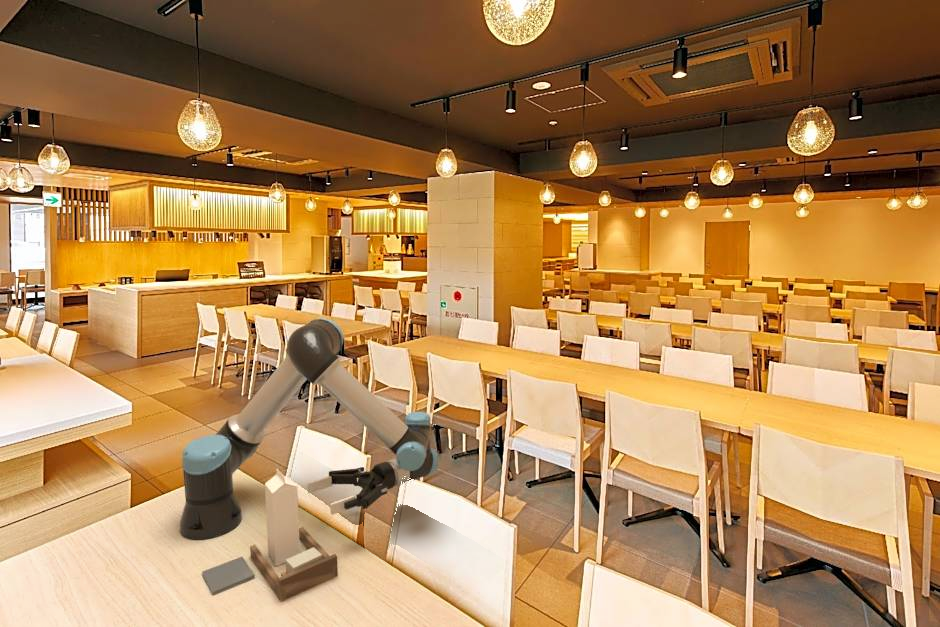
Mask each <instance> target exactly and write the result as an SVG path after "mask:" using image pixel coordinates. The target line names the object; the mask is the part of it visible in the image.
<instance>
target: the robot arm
mask: <svg viewBox="0 0 940 627" xmlns="http://www.w3.org/2000/svg"><path fill="white" fill-rule="evenodd" d="M343 344H344V333H343V330H342V329H341V326H339V325H338V324H337V323H336V322H335V321H333V320H331V319H329V318H325V317H324V318H323V317H321V318H314V319H313V320H310V321H308V323H307V324H305V325H302V326H300V327H299V328H298V327H297V329H296V330H293V331H292V333H291V334H290V336H289V338H288V341H287V344H286V345H287V346H286V348H285V354H286V356H285V358H284V359H283V361H282V362H280V364H279V366H277V368H276V369H275V370H274V371H273V373H272V374H271V375H270V376H269V378H268V379H267V380H266V381H265V382H264V384H263V385H261V387H260V388H259V390H257V392H256V393H255V395H254V396H253V397H252V398H251V400H250V401H249V402H248V403H247V404H246V406H245V407H244V408H243V409H242V410H241V412H240V413H238V414H233V415H231V416H230V417H229V418H228V419H227V421H226V422H225V423H224V424H223V426H222V427H221V428H220V429H219V430H218V431H217V432H216V433H215V434H209V435H204V436H201V438H196V439H194V440H192V441H191V442H189V443H188V444H187V445H186V446H185V447H184V449H183V452H182V459H181V466H182V473H183V474H182V475H183V483H184V495H185V496H184V497H185V504H184V508H183V511H182V514H181V517H180V521H179V522H180V523H179V529H180V534H181V535H182V536H183V537H184V538H187V539H189V540H190V539H191V540H207V539H211V538H216V537H219V536H222V535H225V534H227V533H229V532H231V531H233V530H234V529H235V528H237V527H238V526H239V525H240V523H241V521H242V520H243V519H242V518H243V515H242V508H241V505H240V503H239V501H238V500H237V498H236V496H235V493H234V482H233V474H234V473H235V472H236V471H237V470H238V469H239V468H240V467H241V466H243V464H244V463H245V462H246V461H247V460H248V459H250V458H251V457H252V456H253V455H254V454H255V453H256V451H257V449H258V448H259V445H261V443H262V442H263V441H264V439H265V430H266V429H267V428H268V427H269V426H270V425H271V423H272V422H273V421H274V420H275V418H276V417H277V416H278V415H279V414H280V412H281V411H282V410H283V408H284V407H285V406H286V405H287V404H288V403H289V401H291V399H292V398H293V396H295V395H296V393H297V392H298V391H299V389H300V388H301V387H302V386H303V384H305V382H306V381H309V382H310V383H311V384H312V385H314V386H318V385H319V386H321V388H322V389H324V390H325V391H326V392H327V393H328V394H329V395H330V396H331V397H332V398H333V399H334V400H336V402H338V404H340V405H341V406H342V407H343V408H344V409H345V410H347V412H349V414H351V415H352V416H353V417H354V418H355V419H356V420H357V421H358V422H359V423H361V424H362V425H363V426H364V427H365V428H366V429H367V430H369V431H370V433H372V434H373V435H374V436H375V437H376V439H378V441H380V442H382V444H383V445H384V446H386V447H387V448H388V450H390V451H391V452H392V453H393V454H394V455H395V458H392V459H389V460H387V461H384V462H380V463H377V464H375V465H374V466H373V467H372V469H371V470H369V471H365V467H363V466H362V467H357V468H349V469H340V470H339V469H337V470H329V471H328V476H326V477H323V478H320V479H316V480H313V481H309V482H307V494H308V495H309V494H312V493H315V492H318V491H322V490H324V489H327V488H331V487H333V485H353V486H354V487H360V488H361V490H360V492H359V493H357V494H356V493H355V494H356V495H355V494H353V495H350V496H348V497H345V498H343V499H339V500H336V501H334V502H331V503H330V506H329V508H330V515H335V514H339V513H341V512H344V511H346V510H350V509H353V508H355V507H357V508H360V507H361V508H362V509H363V510H366V509H368V508H369V507H370V506H371V505H373V503H375V502H376V501H377V500H378V499H379V498H381V497H382V496H384V495H387V494H388V490H390V489H393V488H395V487H399V486H401V485H403V482H404V484H406V483H405V482H406V481H409V480H411V479H414V480H413V481H415V480H418V479H422V478H425V477H427V476H429V475H431V474H433V473H435V472H437V470H438V469H439V467H440V459H439V455H438V452H436V450H435V449H434V448H431V437H432V436H431V435H432V433H431V432H432V430H431V428H432V424H431V416H430V414H429V413H427V412H425V411H413V412H409V413H407V414H405V417H404V422H403V421H402V420H401V419H400V418H399V417H398V416H397V415H396V414H395V413H394V412H393V411H392V410H391V409H390V408H389V407H387V406H386V405H385V404H384V403H383V402H382V401H381V400H380V399H379V398H378V397H376V395H374V394H373V393H372V392H371V391H370V390H369V389H368V388H367V387H366V386H365V385H364V384H363V383H361V381H359V380H358V379H357V378H356V377H355V376H354V375H353V374H352V373H351V372H350V371H349V370H348V369H346V367H344V366H343V365H342V363H341V358H340V356H339V355H337V354H338V353H339V352H340V350H341V349H342V346H343ZM404 476H406V477H404ZM408 477H409V478H411V479H409V478H408ZM402 478H403V479H402ZM404 478H405V479H404ZM407 479H409V480H407ZM401 481H402V484H401Z"/></svg>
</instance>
